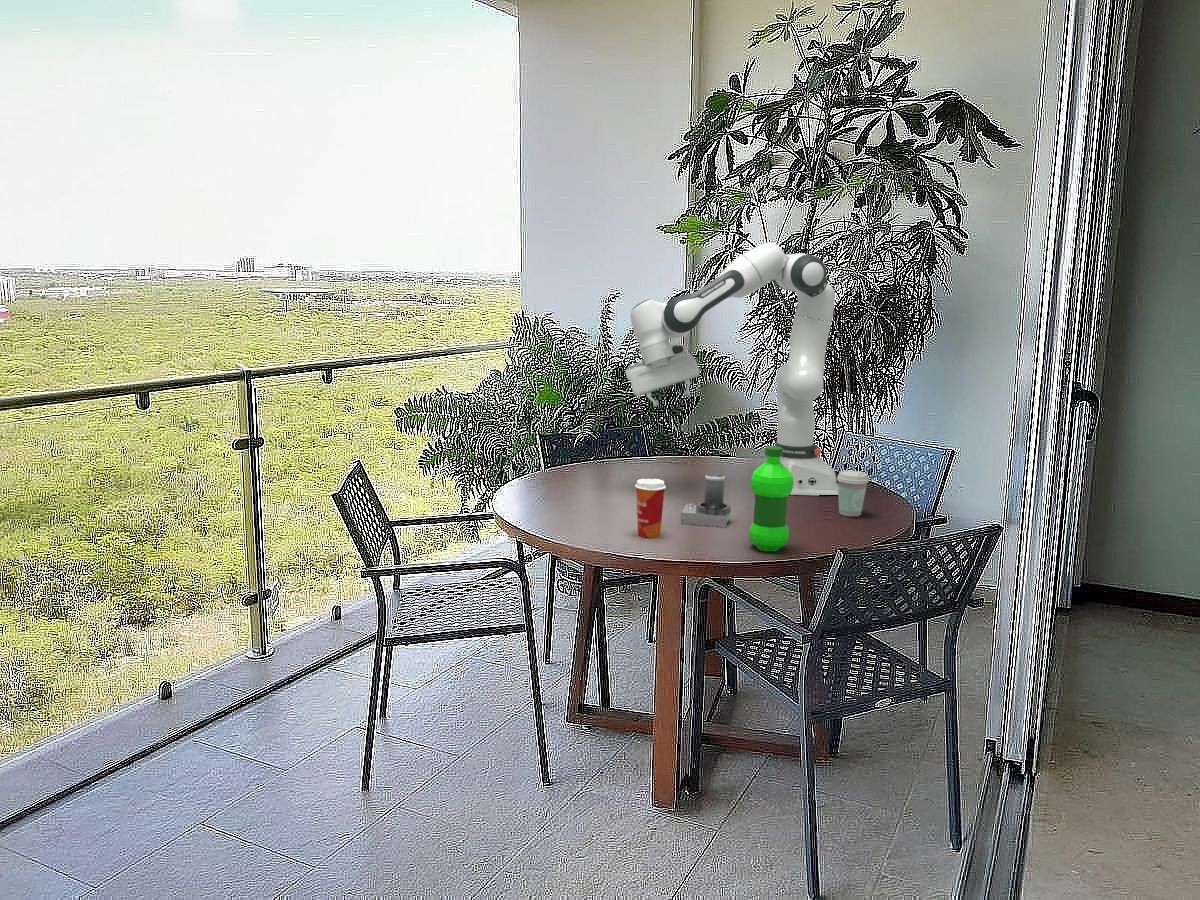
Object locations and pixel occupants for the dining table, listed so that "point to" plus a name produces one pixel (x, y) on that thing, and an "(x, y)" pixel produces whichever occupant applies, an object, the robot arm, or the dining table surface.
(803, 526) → the dining table surface
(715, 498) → the lens
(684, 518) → the camera body
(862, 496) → the coffee cup
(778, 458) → the plastic bottle
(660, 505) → the paper cup
